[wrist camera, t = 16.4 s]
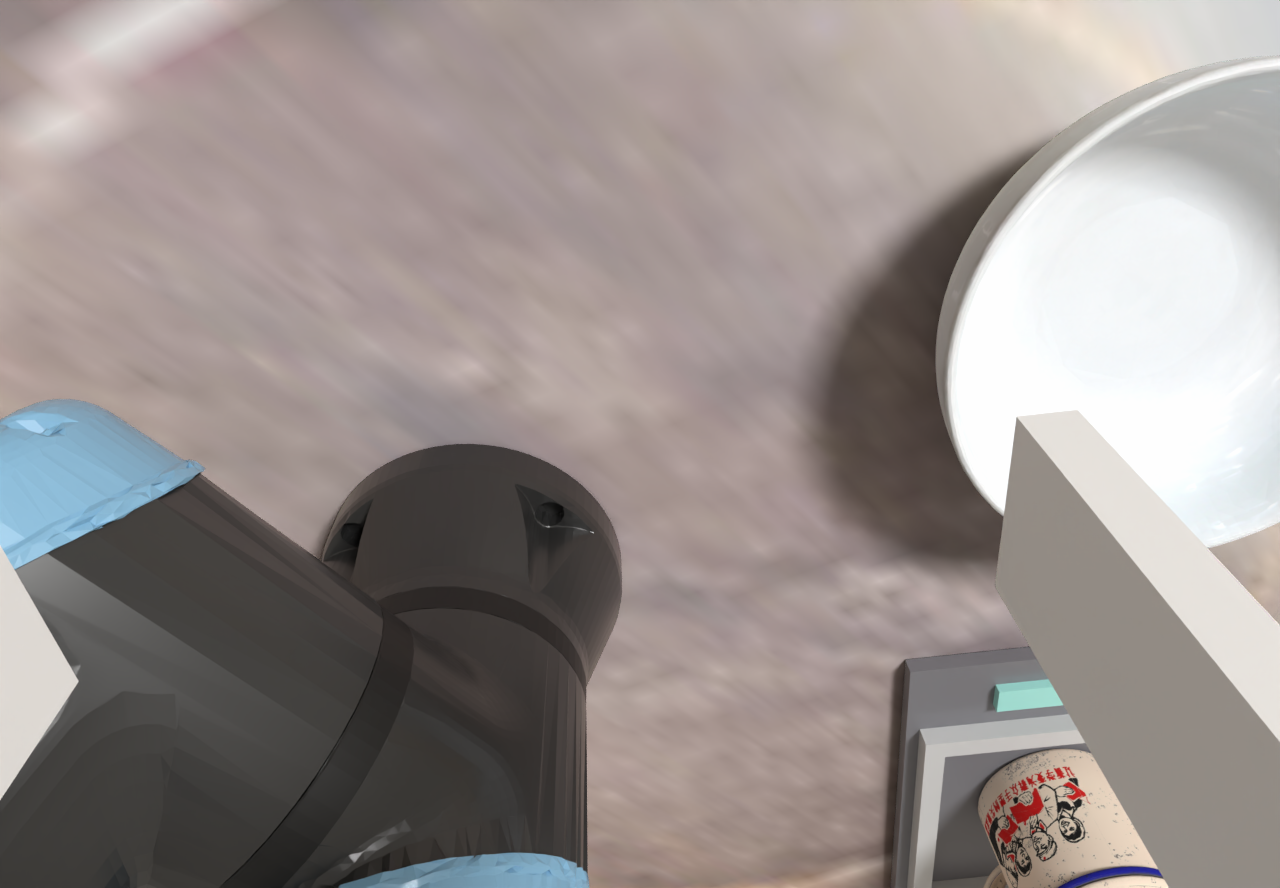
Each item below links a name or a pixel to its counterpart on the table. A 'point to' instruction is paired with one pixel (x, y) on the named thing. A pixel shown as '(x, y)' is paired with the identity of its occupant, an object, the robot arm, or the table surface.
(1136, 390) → the serving bowl
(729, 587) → the table surface
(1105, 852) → the teacup with lid
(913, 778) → the base
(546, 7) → the table surface
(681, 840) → the table surface
